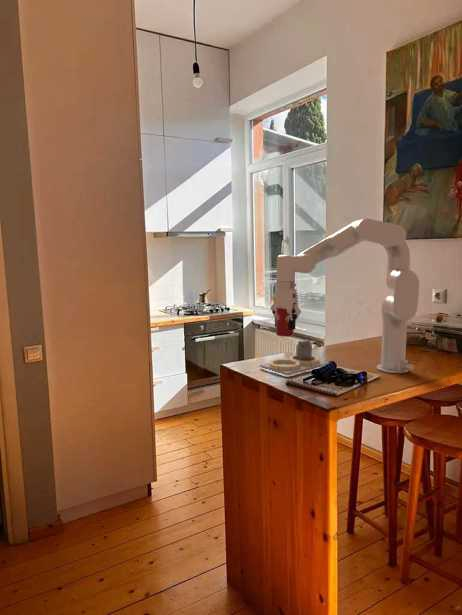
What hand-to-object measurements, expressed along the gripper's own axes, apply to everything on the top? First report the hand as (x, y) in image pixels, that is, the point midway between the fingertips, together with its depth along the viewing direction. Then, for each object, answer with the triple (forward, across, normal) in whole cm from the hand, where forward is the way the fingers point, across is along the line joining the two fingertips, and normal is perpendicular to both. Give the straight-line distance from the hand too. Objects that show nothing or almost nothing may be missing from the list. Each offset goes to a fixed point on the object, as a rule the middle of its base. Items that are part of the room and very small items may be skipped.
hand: (284, 327), depth 189 cm
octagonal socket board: (+18, 0, -6) cm, 19 cm away
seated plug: (+16, 0, -12) cm, 20 cm away
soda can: (+4, 0, 0) cm, 4 cm away
